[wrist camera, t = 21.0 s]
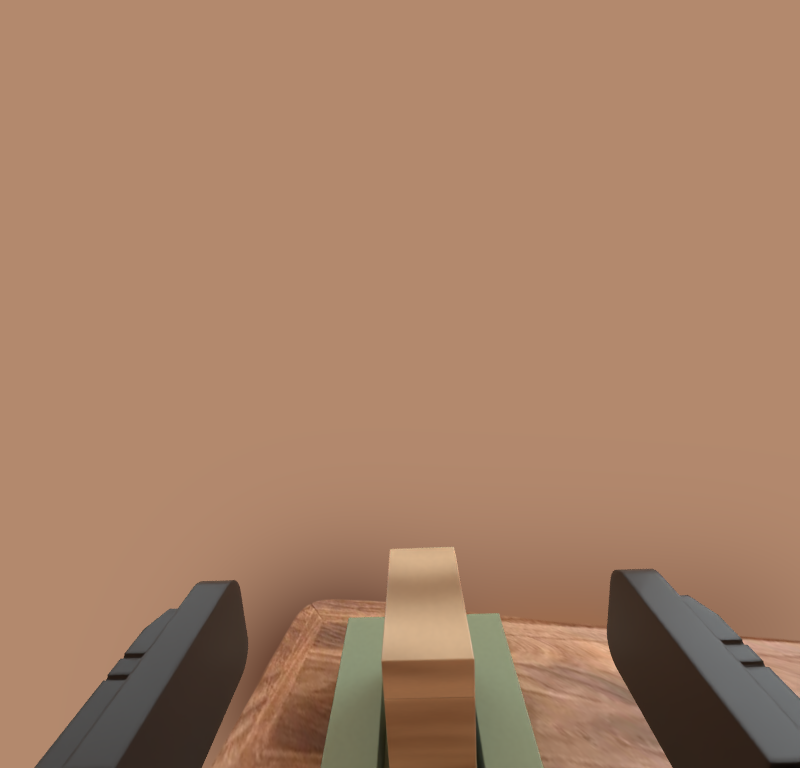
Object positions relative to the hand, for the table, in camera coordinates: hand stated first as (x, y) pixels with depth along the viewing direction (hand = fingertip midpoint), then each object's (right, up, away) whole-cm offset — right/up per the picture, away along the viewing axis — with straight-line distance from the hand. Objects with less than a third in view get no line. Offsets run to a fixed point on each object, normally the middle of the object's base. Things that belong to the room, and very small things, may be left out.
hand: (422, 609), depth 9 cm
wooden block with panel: (+1, -18, +15) cm, 23 cm away
